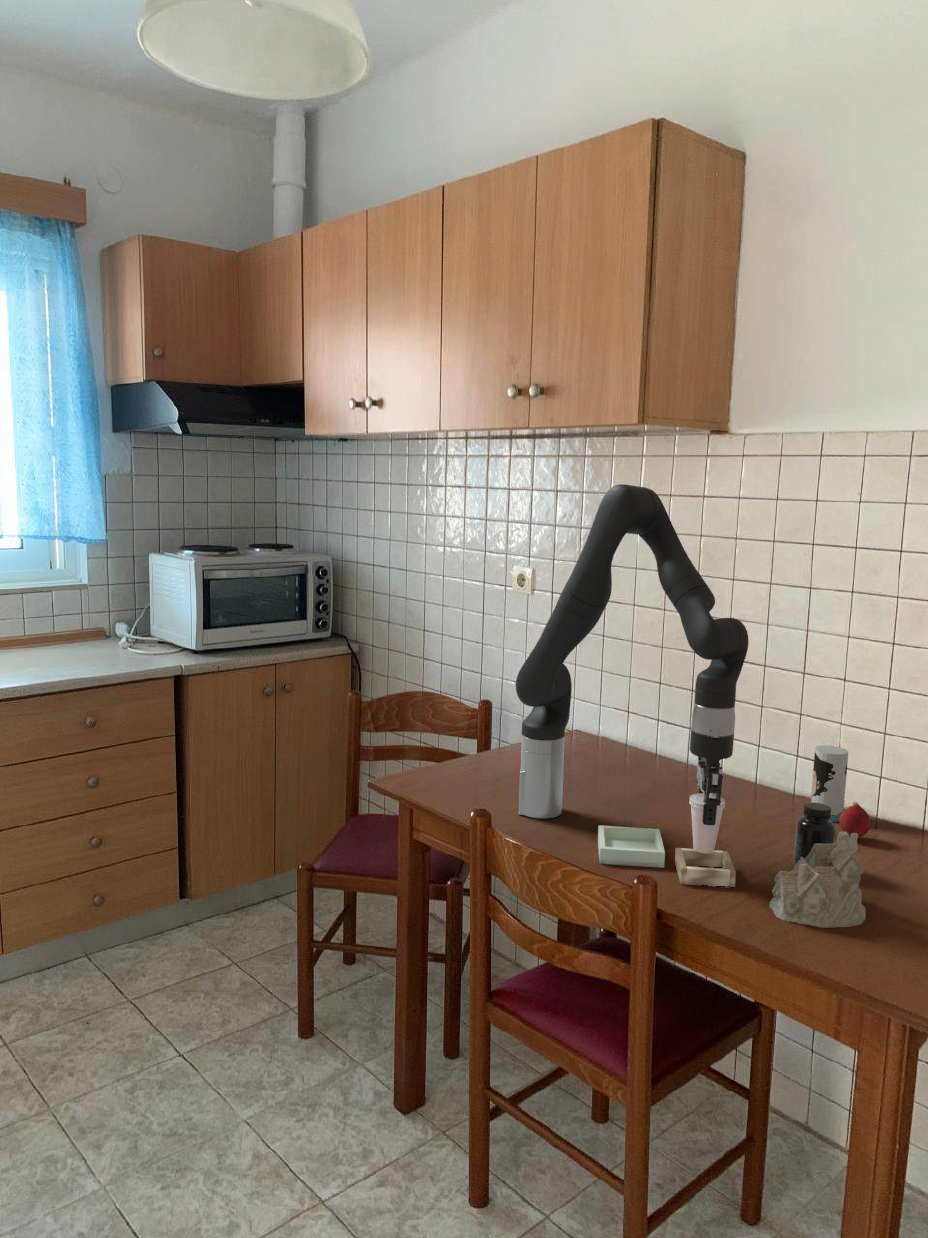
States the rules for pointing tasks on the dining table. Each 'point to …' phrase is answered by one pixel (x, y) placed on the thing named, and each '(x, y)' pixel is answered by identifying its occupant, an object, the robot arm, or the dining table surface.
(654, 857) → the tray
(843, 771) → the cup
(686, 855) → the rectangular wooden frame
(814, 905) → the ceramic cottage
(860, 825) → the onion
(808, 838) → the supplement bottle
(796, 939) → the dining table surface
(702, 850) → the smoothie
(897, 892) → the dining table surface
